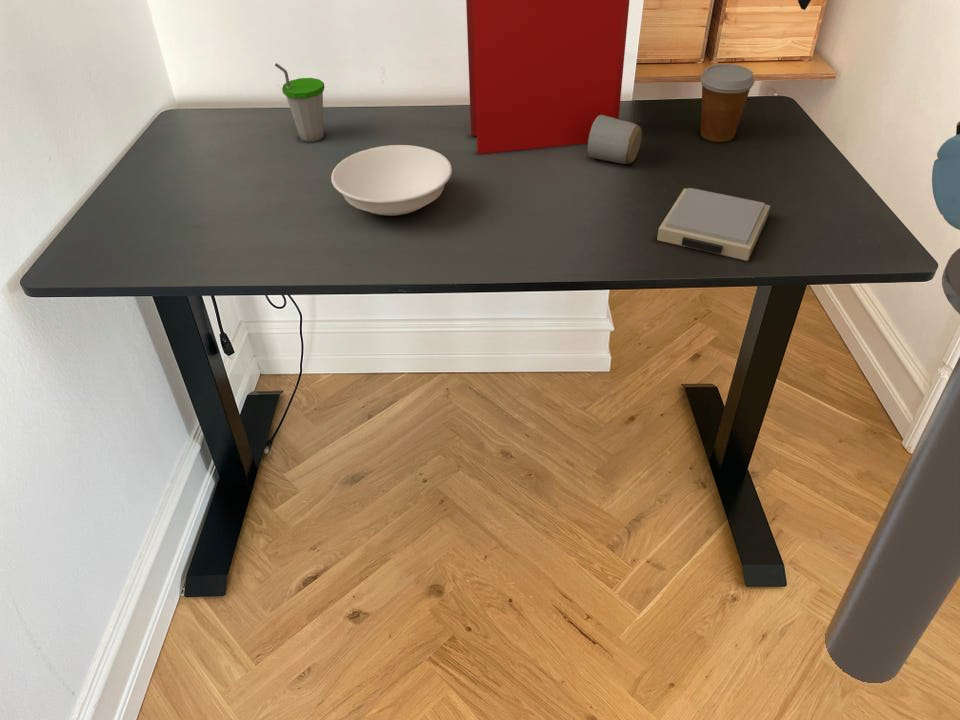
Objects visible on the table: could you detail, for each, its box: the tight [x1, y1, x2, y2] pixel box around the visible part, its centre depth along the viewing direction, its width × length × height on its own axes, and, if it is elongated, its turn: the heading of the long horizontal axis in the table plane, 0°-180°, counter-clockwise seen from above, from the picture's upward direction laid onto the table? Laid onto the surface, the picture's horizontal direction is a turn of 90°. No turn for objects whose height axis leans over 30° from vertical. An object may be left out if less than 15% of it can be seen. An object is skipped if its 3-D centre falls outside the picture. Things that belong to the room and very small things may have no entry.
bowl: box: [330, 144, 453, 217], centre depth 130 cm, size 20×20×6 cm
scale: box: [656, 187, 771, 262], centre depth 123 cm, size 14×15×3 cm
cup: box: [274, 62, 325, 143], centre depth 149 cm, size 8×8×15 cm
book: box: [465, 0, 631, 155], centre depth 140 cm, size 27×8×32 cm, turn 99°
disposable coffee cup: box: [700, 63, 755, 143], centre depth 146 cm, size 10×10×12 cm
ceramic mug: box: [587, 115, 643, 165], centre depth 141 cm, size 11×8×8 cm
